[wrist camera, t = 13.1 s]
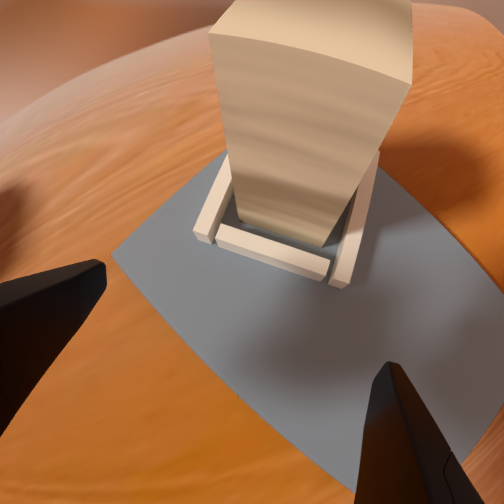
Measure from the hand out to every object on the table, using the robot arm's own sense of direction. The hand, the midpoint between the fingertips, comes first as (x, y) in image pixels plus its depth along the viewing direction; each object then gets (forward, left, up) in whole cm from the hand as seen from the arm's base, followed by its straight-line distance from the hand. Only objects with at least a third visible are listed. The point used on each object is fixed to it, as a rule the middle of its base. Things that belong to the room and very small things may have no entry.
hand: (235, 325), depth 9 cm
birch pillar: (+7, +3, -7) cm, 11 cm away
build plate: (+5, -4, -8) cm, 10 cm away
